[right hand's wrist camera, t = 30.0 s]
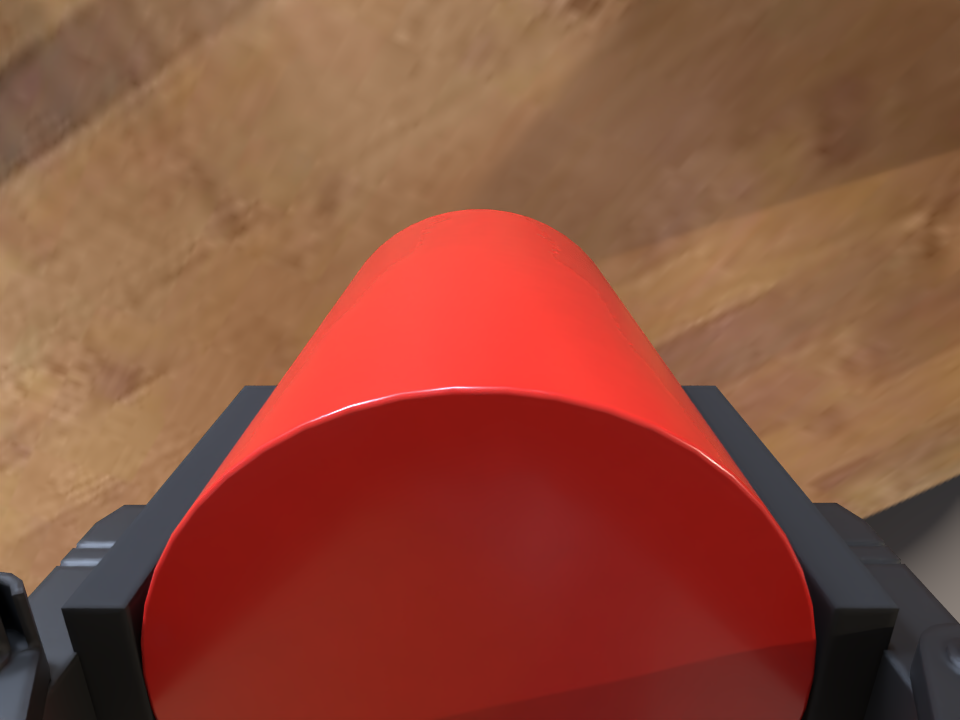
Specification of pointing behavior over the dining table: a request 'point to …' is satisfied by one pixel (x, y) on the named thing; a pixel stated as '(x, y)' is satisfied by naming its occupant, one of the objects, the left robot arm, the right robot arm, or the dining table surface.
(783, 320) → the dining table surface
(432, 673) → the canister
